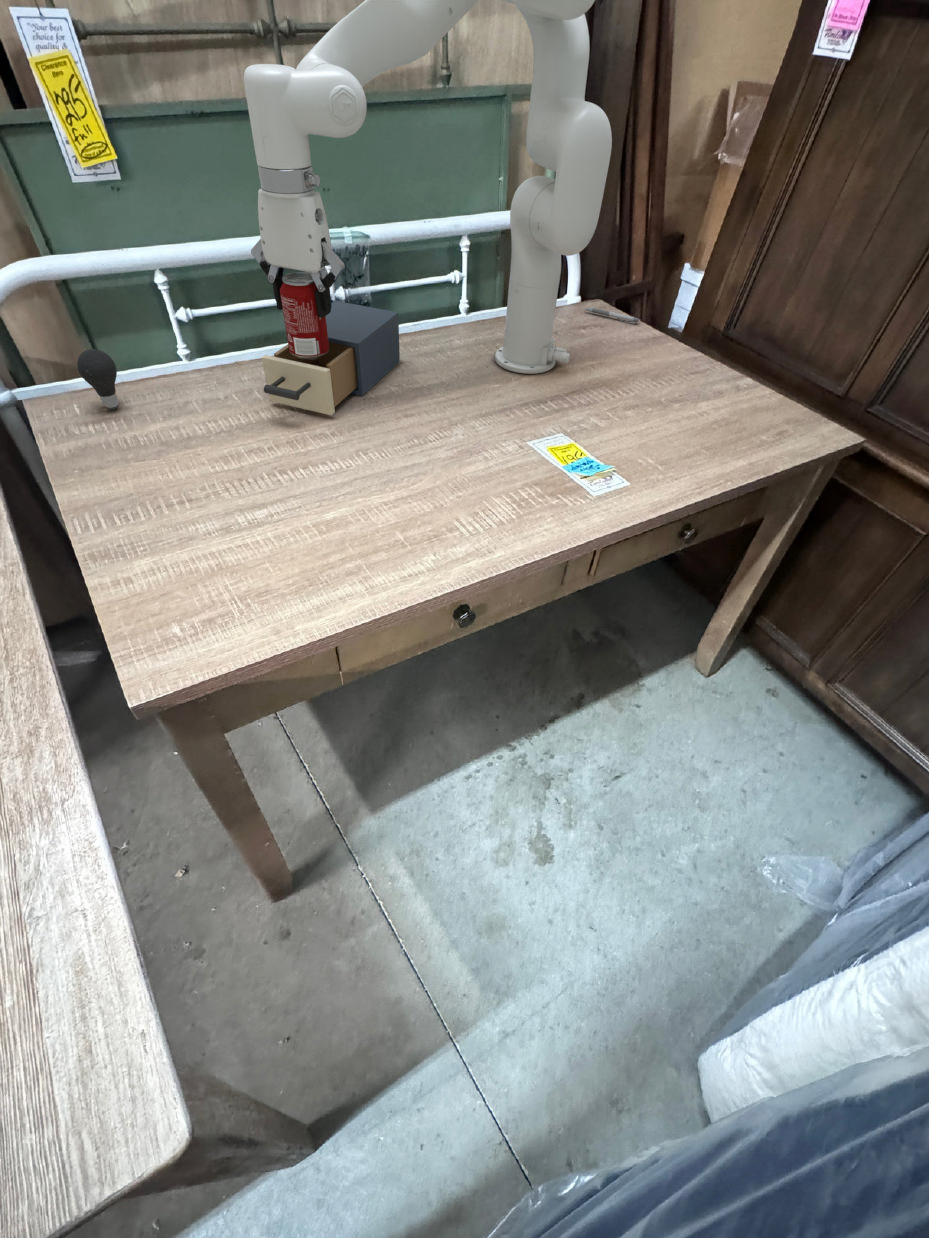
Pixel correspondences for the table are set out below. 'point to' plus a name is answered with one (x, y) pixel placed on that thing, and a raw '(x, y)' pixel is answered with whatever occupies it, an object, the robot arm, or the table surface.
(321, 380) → the drawer
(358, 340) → the cabinet
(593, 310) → the pen
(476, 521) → the table surface
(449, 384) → the table surface
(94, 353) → the light bulb
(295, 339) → the soda can
